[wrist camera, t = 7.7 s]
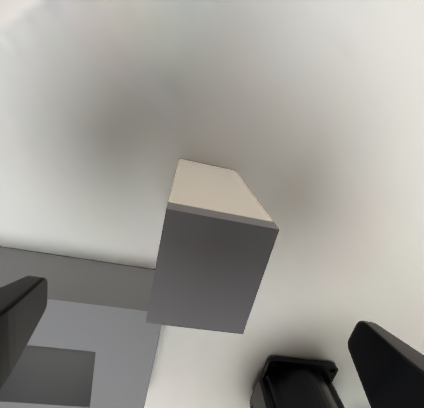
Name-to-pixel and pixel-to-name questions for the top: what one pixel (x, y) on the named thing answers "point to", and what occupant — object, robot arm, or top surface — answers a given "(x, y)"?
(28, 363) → the socket
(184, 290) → the grey tall block
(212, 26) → the top surface
